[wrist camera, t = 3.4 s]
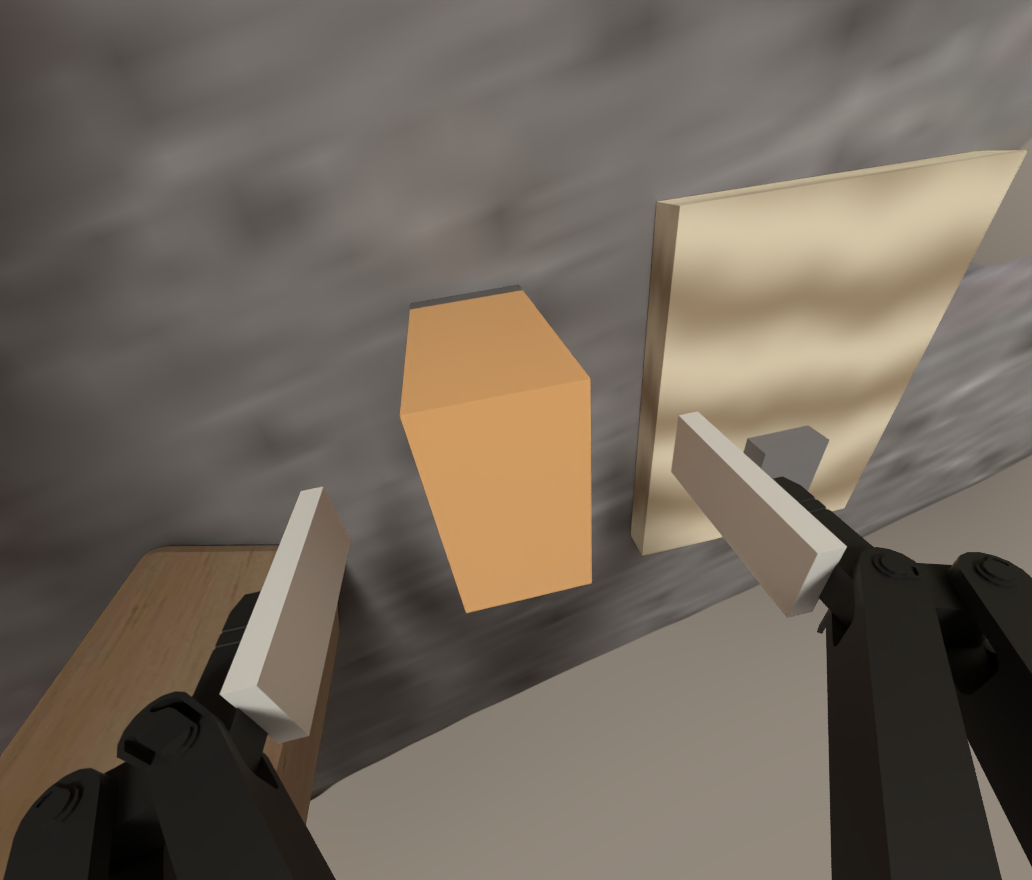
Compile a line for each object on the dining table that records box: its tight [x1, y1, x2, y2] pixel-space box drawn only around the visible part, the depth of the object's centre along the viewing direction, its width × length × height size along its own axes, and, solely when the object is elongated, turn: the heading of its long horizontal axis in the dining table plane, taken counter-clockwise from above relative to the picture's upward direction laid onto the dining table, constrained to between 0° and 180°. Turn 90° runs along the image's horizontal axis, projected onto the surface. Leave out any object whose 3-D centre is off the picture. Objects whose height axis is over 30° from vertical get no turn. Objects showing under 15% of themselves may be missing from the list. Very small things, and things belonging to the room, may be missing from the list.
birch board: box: [631, 150, 1027, 556], centre depth 24 cm, size 22×16×2 cm
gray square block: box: [743, 425, 829, 491], centre depth 25 cm, size 4×4×2 cm
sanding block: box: [400, 285, 592, 613], centre depth 17 cm, size 9×5×10 cm, turn 7°
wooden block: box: [0, 545, 340, 880], centre depth 19 cm, size 10×10×20 cm
